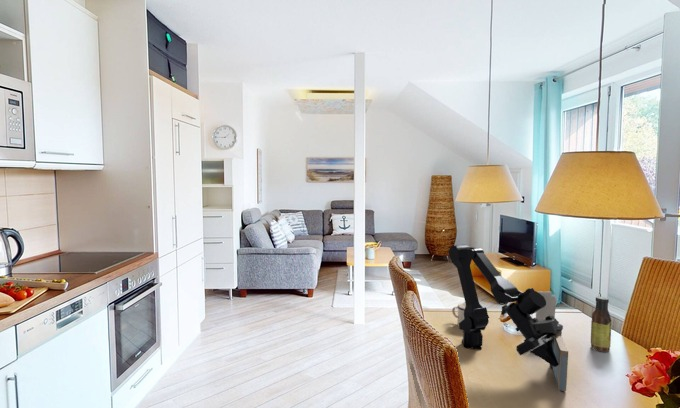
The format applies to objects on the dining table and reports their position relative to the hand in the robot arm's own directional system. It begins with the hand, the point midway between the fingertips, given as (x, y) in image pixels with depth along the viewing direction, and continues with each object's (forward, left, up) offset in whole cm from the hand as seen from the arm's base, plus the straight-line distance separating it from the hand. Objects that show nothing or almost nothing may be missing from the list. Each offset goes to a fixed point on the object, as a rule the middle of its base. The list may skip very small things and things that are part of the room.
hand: (556, 366), depth 115 cm
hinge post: (+4, +12, -6) cm, 14 cm away
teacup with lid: (-22, +44, -7) cm, 49 cm away
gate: (+2, +4, -6) cm, 7 cm away
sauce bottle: (+26, +32, -7) cm, 42 cm away
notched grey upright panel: (+11, +41, -7) cm, 43 cm away
